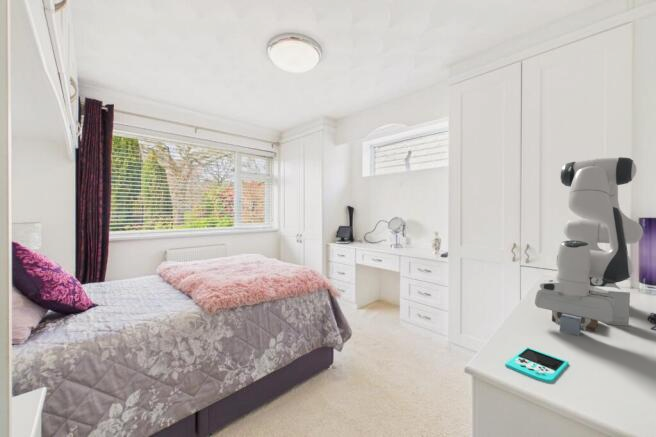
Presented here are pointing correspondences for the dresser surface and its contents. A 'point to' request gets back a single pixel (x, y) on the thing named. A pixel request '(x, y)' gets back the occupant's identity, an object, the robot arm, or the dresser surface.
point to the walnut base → (590, 326)
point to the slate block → (570, 324)
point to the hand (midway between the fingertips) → (570, 326)
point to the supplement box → (617, 304)
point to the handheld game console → (537, 365)
